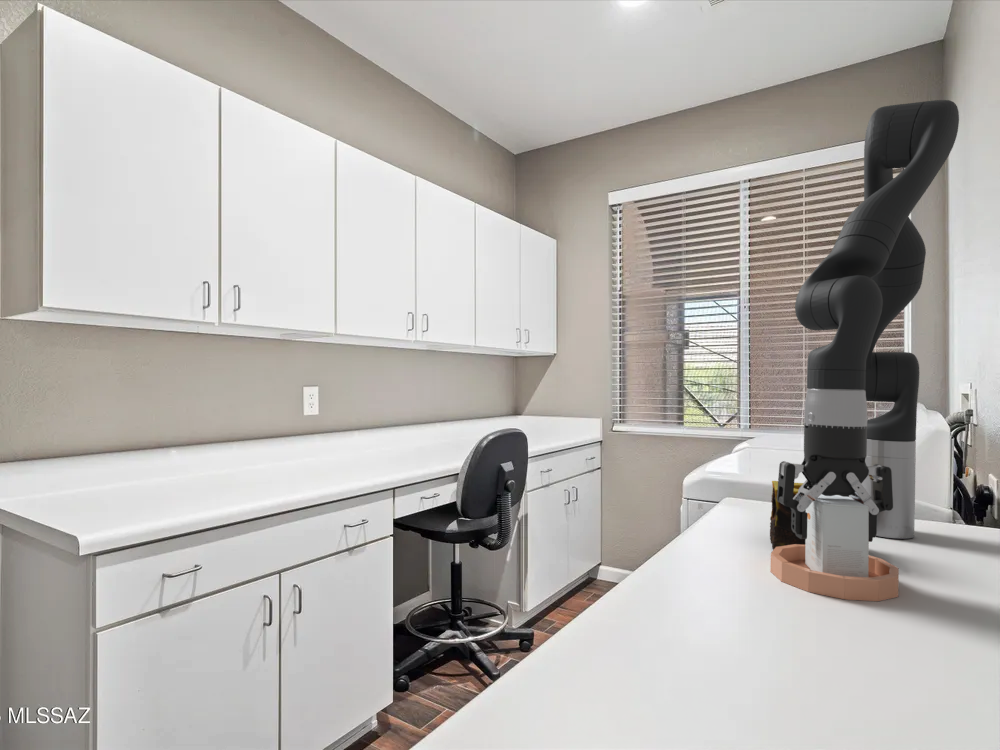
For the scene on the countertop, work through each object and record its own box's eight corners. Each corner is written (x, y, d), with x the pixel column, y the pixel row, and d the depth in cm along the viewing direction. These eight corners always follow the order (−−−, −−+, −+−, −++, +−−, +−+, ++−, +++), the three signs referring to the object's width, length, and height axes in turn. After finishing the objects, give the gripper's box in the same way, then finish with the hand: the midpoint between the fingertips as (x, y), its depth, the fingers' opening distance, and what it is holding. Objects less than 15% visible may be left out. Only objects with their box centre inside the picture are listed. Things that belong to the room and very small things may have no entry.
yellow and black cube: (772, 551, 91) (773, 489, 91) (768, 535, 101) (769, 479, 101) (845, 560, 87) (846, 495, 88) (834, 543, 97) (835, 484, 97)
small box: (869, 587, 74) (870, 506, 74) (821, 583, 75) (823, 503, 75) (846, 567, 82) (847, 494, 82) (804, 564, 83) (805, 492, 83)
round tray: (756, 559, 87) (757, 542, 87) (860, 564, 85) (860, 547, 85) (798, 596, 72) (799, 576, 72) (925, 603, 70) (925, 582, 70)
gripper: (873, 421, 82) (872, 534, 82) (771, 418, 83) (769, 529, 83) (906, 425, 74) (904, 549, 74) (792, 422, 76) (790, 544, 75)
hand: (832, 538), depth 78 cm, fingers open, 8 cm apart
